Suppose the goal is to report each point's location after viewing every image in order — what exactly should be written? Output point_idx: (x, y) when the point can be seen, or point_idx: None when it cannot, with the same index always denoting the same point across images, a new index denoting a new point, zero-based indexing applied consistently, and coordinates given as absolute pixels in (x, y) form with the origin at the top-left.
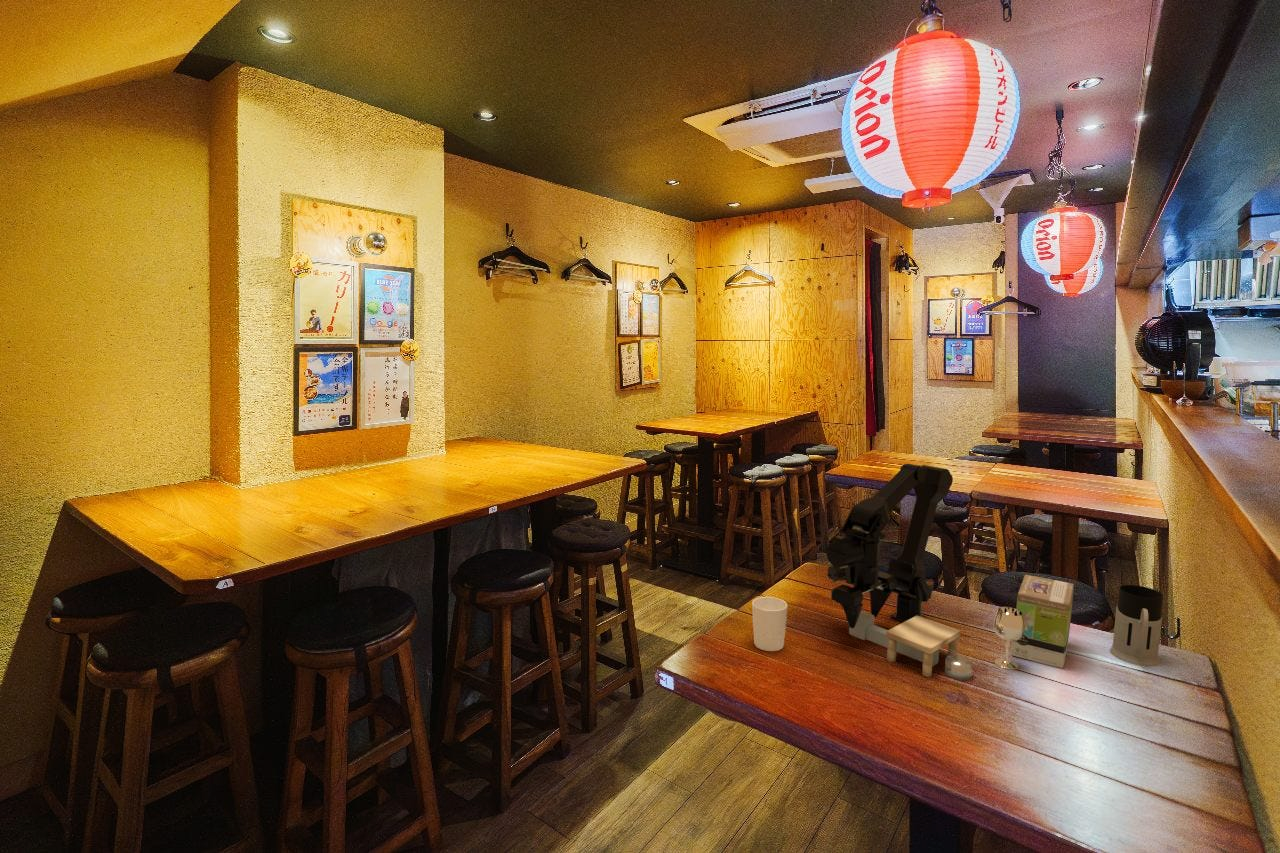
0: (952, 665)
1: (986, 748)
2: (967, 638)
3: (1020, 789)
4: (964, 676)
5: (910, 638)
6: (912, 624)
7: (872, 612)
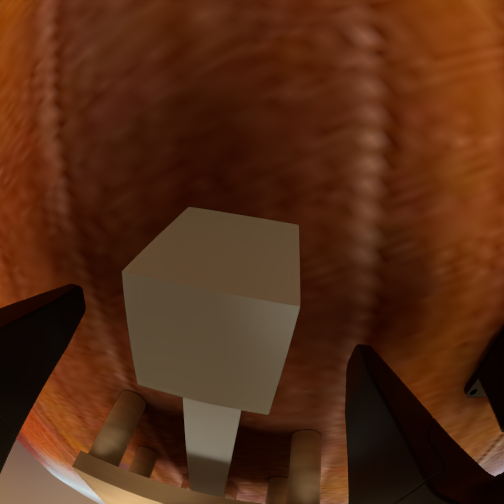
0: None
1: (68, 465)
2: None
3: (54, 466)
4: None
5: (111, 500)
6: None
7: (359, 371)
